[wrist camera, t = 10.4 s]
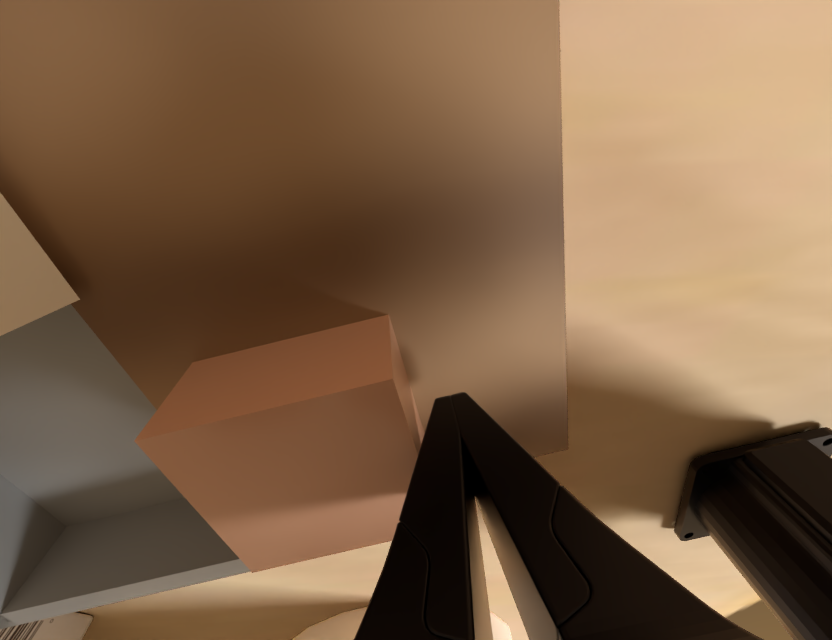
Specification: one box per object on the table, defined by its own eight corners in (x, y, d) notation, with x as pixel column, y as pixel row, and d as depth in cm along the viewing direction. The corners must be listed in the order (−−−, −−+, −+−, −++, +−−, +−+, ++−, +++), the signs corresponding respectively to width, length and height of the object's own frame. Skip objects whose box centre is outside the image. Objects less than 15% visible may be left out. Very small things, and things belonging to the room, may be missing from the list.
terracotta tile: (429, 450, 11) (442, 529, 9) (275, 486, 11) (252, 572, 9) (388, 314, 9) (393, 378, 7) (192, 362, 9) (134, 440, 7)
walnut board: (538, 398, 14) (568, 448, 12) (268, 462, 14) (249, 523, 12) (493, -201, 7) (552, -355, 4) (-65, -39, 7) (-264, -110, 5)
